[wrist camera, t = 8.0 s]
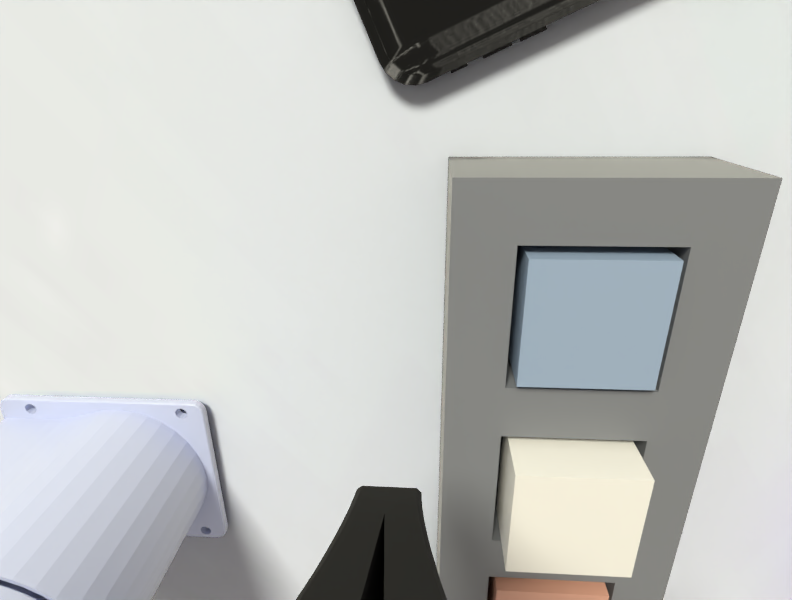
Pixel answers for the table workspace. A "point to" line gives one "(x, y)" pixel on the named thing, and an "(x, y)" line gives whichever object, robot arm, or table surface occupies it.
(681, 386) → the key panel
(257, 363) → the table surface
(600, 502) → the ivory key
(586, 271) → the blue key
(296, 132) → the table surface
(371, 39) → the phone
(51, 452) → the robot arm
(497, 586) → the terracotta key
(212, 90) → the table surface
